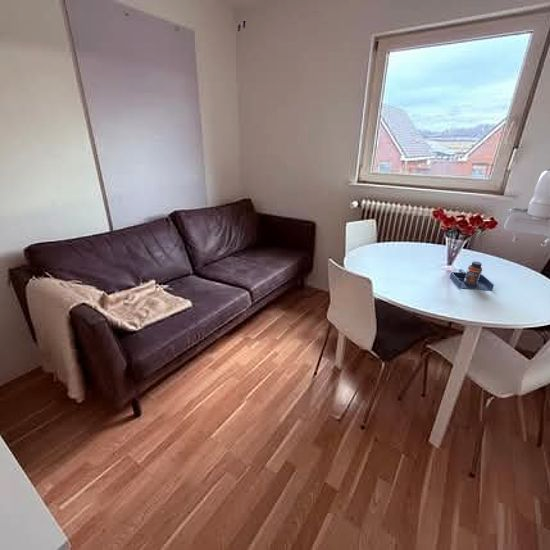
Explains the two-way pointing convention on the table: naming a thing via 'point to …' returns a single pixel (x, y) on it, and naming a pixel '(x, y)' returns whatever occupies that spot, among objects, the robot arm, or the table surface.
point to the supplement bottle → (473, 274)
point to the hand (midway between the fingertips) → (528, 243)
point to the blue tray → (481, 285)
